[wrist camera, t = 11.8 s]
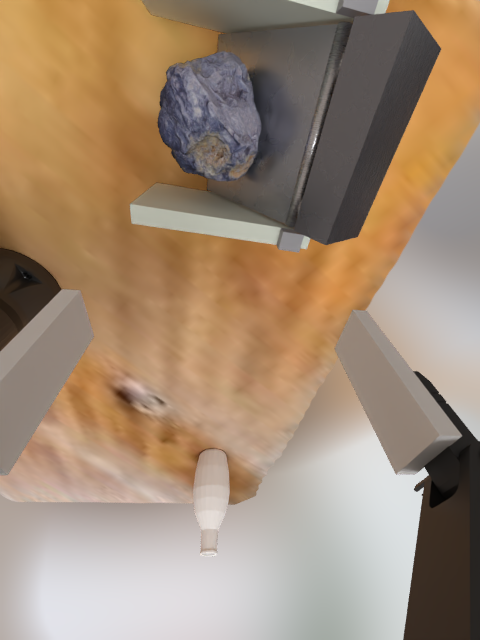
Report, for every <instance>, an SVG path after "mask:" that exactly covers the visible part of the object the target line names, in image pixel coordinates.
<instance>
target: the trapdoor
mask: <svg viewBox="0 0 480 640" xmlns="http://www.w3.org/2000/svg"><path fill="white" fill-rule="evenodd" d="M440 50H441V48H440V46H439V45H438V44H437V42H436V41H435V39H434V38H433V37H432V35H431V34H430V32H429V31H428V30H427V28H426V27H425V25H424V24H423V23H422V21H421V20H420V19H419V17H418V16H417V14H416V13H415V12H414V10H413V11H403V12H393V13H383V14H373V15H363V16H355V18H354V21H353V23H350V22H339V23H338V24H330V25H319V26H308V27H296V28H285V29H274V30H262V31H251V32H240V33H228V34H219V38H218V51H217V53H218V52H221V51H225V52H231V53H233V54H235V55H236V56H238V57H239V58H240V59H241V62H242V63H244V64H245V66H246V68H247V71H248V74H249V78H250V81H251V82H252V87H253V94H254V103H255V106H256V110H257V111H258V113H259V116H260V121H261V132H260V136H259V140H258V151H257V155H256V157H255V159H254V161H253V163H252V165H251V166H250V167H249V168H248V170H247V172H246V173H245V174H244V176H242V177H241V178H239V179H237V180H234V181H216V180H213V179H208V182H207V190H209V191H211V192H214V193H216V194H218V195H220V196H223V197H225V198H227V199H230V200H232V201H234V202H236V203H239V204H241V205H243V206H246V207H248V208H250V209H252V210H255V211H257V212H259V213H262V214H264V215H266V216H268V217H271V218H273V219H275V220H278V221H280V222H282V223H284V224H285V225H287V226H289V227H294V231H295V232H297V233H300V234H302V235H304V236H306V237H309V238H311V239H313V240H315V241H318V242H320V243H322V244H324V245H328V244H332V243H336V242H340V241H344V240H347V239H351V238H355V237H358V235H359V233H360V231H361V229H362V226H363V224H364V222H365V219H366V217H367V215H368V213H369V210H370V208H371V206H372V204H373V201H374V199H375V197H376V195H377V192H378V190H379V188H380V186H381V183H382V181H383V179H384V177H385V174H386V172H387V170H388V168H389V165H390V163H391V161H392V159H393V156H394V154H395V152H396V150H397V147H398V145H399V143H400V141H401V138H402V136H403V134H404V132H405V129H406V127H407V125H408V123H409V120H410V118H411V116H412V114H413V111H414V109H415V107H416V105H417V102H418V100H419V98H420V96H421V93H422V91H423V89H424V87H425V84H426V82H427V80H428V77H429V75H430V73H431V71H432V68H433V66H434V64H435V62H436V59H437V57H438V55H439V53H440Z"/></svg>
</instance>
